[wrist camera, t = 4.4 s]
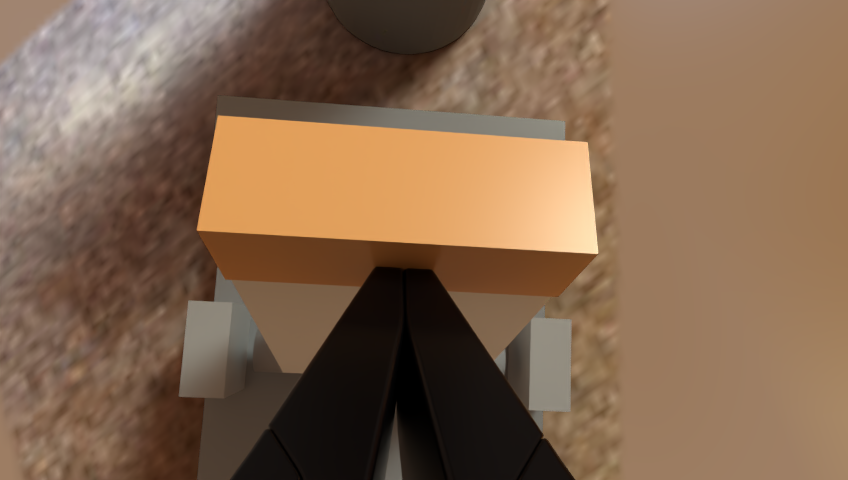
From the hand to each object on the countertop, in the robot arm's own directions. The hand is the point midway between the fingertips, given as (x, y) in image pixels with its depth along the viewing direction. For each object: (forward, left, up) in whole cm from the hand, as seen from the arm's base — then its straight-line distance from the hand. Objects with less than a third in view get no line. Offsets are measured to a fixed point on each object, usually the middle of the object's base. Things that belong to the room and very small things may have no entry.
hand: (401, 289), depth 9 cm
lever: (-1, +1, -9) cm, 9 cm away
